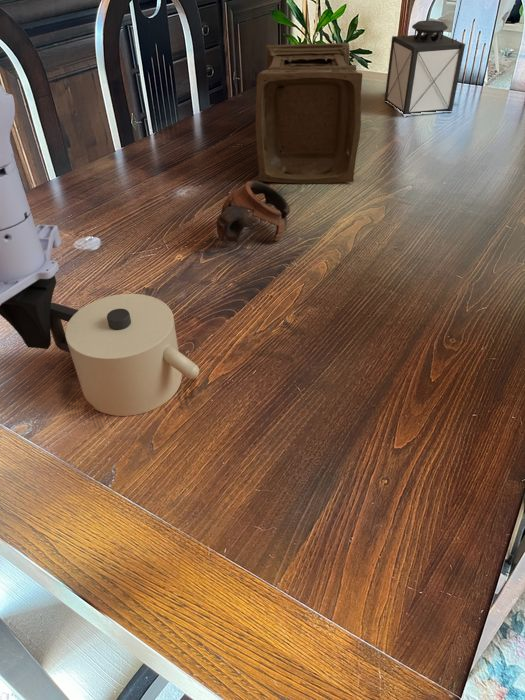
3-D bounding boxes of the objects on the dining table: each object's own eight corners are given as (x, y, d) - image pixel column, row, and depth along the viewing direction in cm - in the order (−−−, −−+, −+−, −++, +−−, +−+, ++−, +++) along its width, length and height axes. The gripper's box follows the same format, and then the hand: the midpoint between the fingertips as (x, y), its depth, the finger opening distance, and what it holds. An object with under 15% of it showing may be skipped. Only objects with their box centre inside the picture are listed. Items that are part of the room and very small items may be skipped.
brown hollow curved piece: (231, 216, 85) (258, 171, 80) (277, 256, 84) (307, 212, 79) (187, 231, 75) (214, 180, 70) (238, 276, 74) (269, 227, 69)
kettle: (225, 371, 55) (220, 306, 50) (174, 439, 48) (162, 372, 43) (91, 330, 61) (74, 267, 55) (28, 385, 54) (2, 320, 49)
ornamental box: (269, 129, 121) (256, 34, 110) (351, 118, 118) (346, 19, 107) (260, 193, 94) (241, 75, 82) (366, 181, 91) (362, 58, 80)
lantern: (452, 113, 119) (484, -47, 101) (404, 117, 118) (428, -44, 99) (428, 98, 128) (454, -52, 110) (383, 102, 126) (402, -50, 108)
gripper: (-7, 266, 39) (45, 402, 48) (76, 182, 50) (105, 305, 59) (-98, 260, 40) (-31, 394, 49) (3, 179, 51) (43, 300, 60)
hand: (39, 345), depth 54 cm, fingers closed
